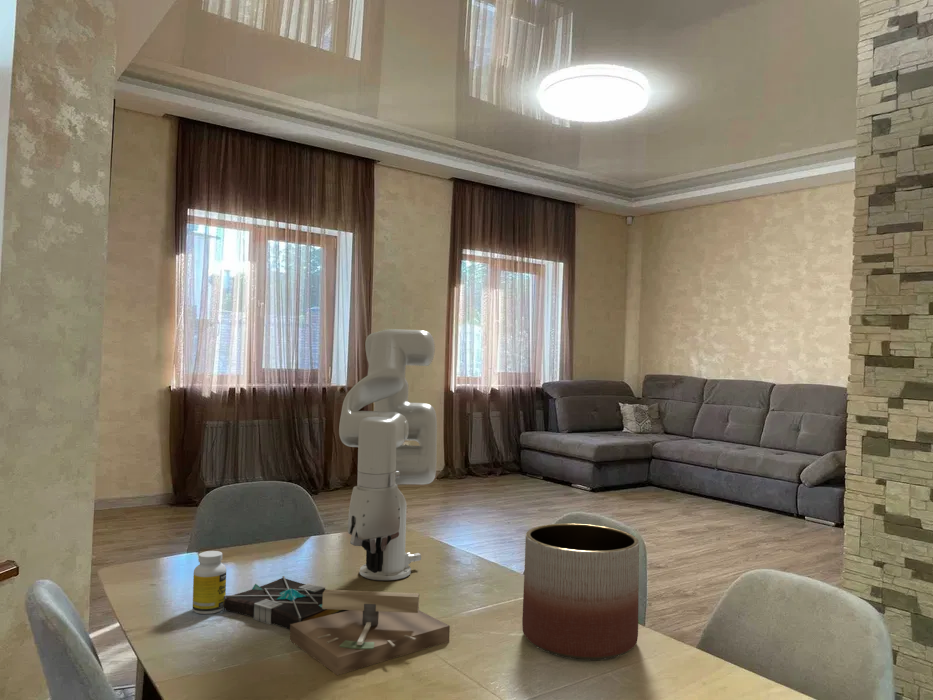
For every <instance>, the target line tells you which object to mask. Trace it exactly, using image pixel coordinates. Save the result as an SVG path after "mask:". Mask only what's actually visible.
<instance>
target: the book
mask: <svg viewBox="0 0 933 700" xmlns="http://www.w3.org/2000/svg"><path fill="white" fill-rule="evenodd" d="M325 589H326V586H322V585H321V586H320V585H317V584H313V583H301V582H299V581H295V580H291V579H288V578H286V577H285V575H283V576H282V577H281V578H279V579H276V580H274V581H272V582H269V583H266V584H263V585H261V586H260V585H258V584H257V583H254V585H253V587H252V588H251V589H248V590H246V591H242V592H238V593H235V594H231V595H230V594H228V595H227V594H226V595H224V608H223V610H222V611H223V612H231V613H236V614H240V615H242V616H243V615H244V616H247V617H251V618H253V620H254V621H257V622H261V623H264V624H267V625H272V624H274V625H275V626H279V627H283V628H285V629H288V630H290V624H294V623H298V622H302V621H306V620H310V619H315V618H319V617H323V616H327V615H331V614H335V613H340V612H344V611H348V610H335V609H322V603H323V592H324V591H325ZM326 590H328V589H326Z"/></svg>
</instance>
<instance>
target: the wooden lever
mask: <svg viewBox="0 0 933 700" xmlns="http://www.w3.org/2000/svg"><path fill="white" fill-rule="evenodd" d="M419 608H420V593H419V592H418V593H417V592H416V593H415V592H413V593H412V592H393V591H392V592H391V591H373V590H372V591H370V590H351V589H350V590H346V589H327V590H326V588H325V591H324V592H323V603H322V609H335V610H358V611H363V619H362V624H363V625H364V626H365V627H364V629H363V631H362V633H361V635H360V637H359V639H358V641H357V645H362V644H363V642H364V639H365V637H366V635H367V633H368V631H369V629H370V627H371V626H376V625H378V618H379V611H381V612H404V613H418V610H419V611H420V609H419Z"/></svg>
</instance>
